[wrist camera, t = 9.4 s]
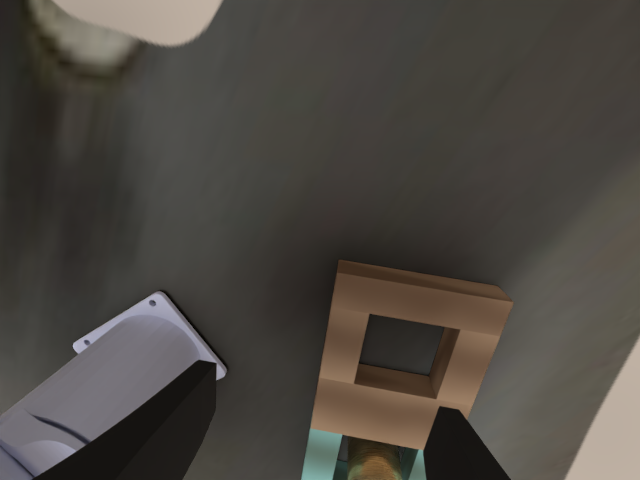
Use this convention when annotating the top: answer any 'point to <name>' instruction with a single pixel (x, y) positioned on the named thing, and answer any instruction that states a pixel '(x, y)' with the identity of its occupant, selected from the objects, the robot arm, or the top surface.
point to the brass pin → (372, 460)
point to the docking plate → (391, 385)
